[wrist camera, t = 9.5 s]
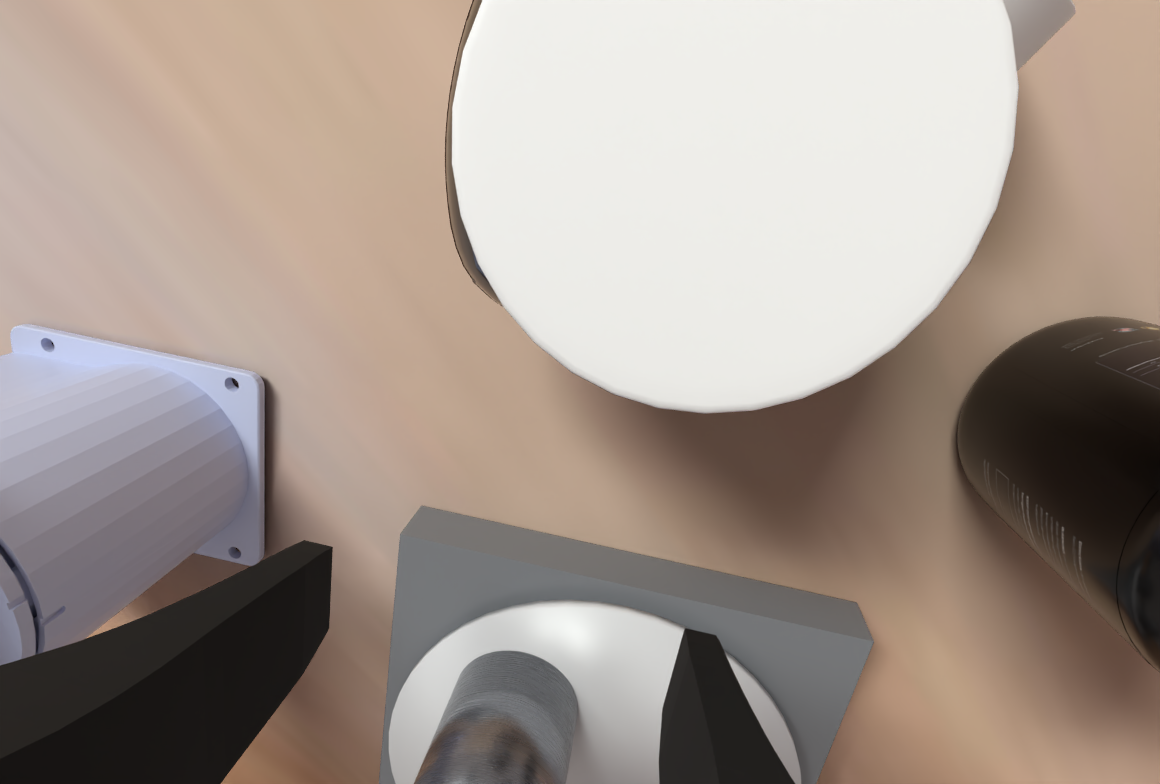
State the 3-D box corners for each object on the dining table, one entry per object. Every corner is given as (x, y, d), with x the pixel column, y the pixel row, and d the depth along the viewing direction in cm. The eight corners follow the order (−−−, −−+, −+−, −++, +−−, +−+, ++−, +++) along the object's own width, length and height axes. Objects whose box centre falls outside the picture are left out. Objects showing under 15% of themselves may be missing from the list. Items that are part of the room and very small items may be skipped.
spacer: (455, 739, 23) (385, 921, 18) (455, 641, 22) (380, 805, 16) (573, 759, 23) (541, 953, 17) (582, 661, 22) (550, 836, 16)
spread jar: (506, 263, 20) (318, 366, 10) (564, -170, 17) (362, -832, 6) (885, 339, 20) (1155, 546, 9) (1038, -97, 16) (1865, -708, 5)
